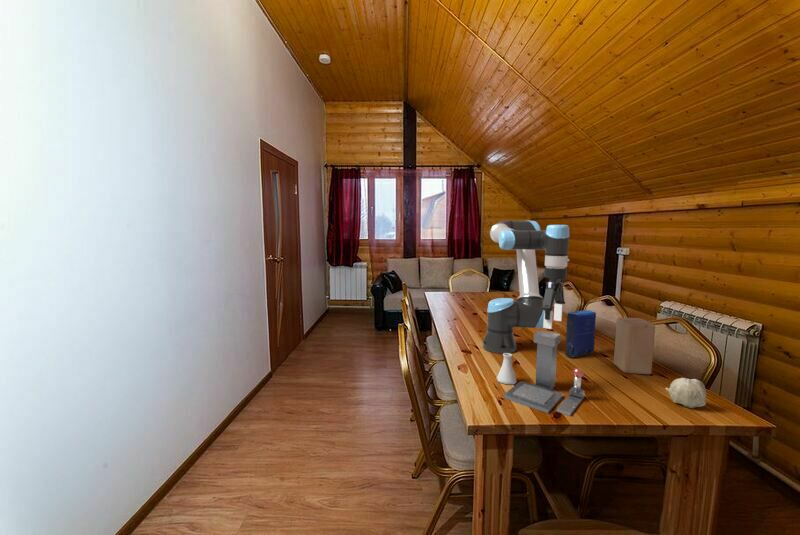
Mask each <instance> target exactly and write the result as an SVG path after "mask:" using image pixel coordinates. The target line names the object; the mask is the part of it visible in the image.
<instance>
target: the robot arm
mask: <svg viewBox="0 0 800 535" xmlns="http://www.w3.org/2000/svg"><path fill="white" fill-rule="evenodd" d="M488 233H489V238H490V239H491V240H492V241H493V242H494V243H498V245H499V248H500V250H508V251H510V250H515V251H516V263H517V274H518V275H517V276H518V289H519V296H518V297H517V298H516V301H515V299H514V298H512V297H511V298H510V297H499V298H494V299H491V300H490V301H489V302H488V305H487V310H486V311H487V318H486V320H487V324H486V325H487V326H486V332H485V335H484V338H483V341H482V348H483V349H484V350H485V351H488V352H491V353H493V354H502V355H503V354H504V353H510V354H512V353H514V352H516V351H517V342H516V340H515V335H514V328H529V329H530V328H531V329H540V328H541V329H542V328H543V329H548V330H552V329H553V321H557V322H562V319H563V305H565V304H566V301H565V293H564V280H566V279H567V278H568V277H567V276H568V269H567V267H568V262H570V258H568V257H569V256H568V255H569V245H570V244H569V242H570V227H569V225H568V224H549V225H547V226H546V228H545V230H541V226H540V224H539V223H538V222H537V221H535V220H528V219H527V220H501V221H497V222H496V223H494V224H493V225H492V226H491V227H490V229H489V232H488ZM537 250H538V251H539V250H540V251H541V250H543V251H545V252H544V266H545V267H544V272H543V274H544V275H543V276H544V278H545V279H549V280H548V281H546V283H545V292H544V296H542V295H541V294H540V288H539V279H538V278H539V277H538V269H537V268H538V267H537V258H536V251H537ZM554 302H555V303H554ZM553 306H554V308H553Z"/></svg>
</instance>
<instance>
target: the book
mask: <svg viewBox="0 0 800 535" xmlns="http://www.w3.org/2000/svg"><path fill="white" fill-rule="evenodd" d="M596 317H597V312H596V311H592V310H587V309H585V310H577V311H569V312H567V316H566V333H565V334H566V336H565V338H566V339H565V349H564V350H565V351H564V355H565V356H567V357H568V358H578V357H584V356H587V355H591V354H593V353H594V352H595V338H596V337H595V335H596V334H595V333H596Z"/></svg>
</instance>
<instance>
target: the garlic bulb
mask: <svg viewBox="0 0 800 535" xmlns="http://www.w3.org/2000/svg"><path fill="white" fill-rule="evenodd" d="M665 390H666V392H669V396H670V399H672V401H673V403H676V404H680V405H682V406H684V407H685V408H688V409H694V408H700V407H703V406H705V405H706V404H707V403H706V399H707V389H706V387H705V384H704V383H703V382H702V381H701V380H698V379H696V378H693V379H692V378H691V379H690V378H686V377H680V378H679V377H678V378H675V379H673V381H672V382H671V383H670V385H669V388H668V387H665Z"/></svg>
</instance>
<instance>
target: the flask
mask: <svg viewBox="0 0 800 535" xmlns="http://www.w3.org/2000/svg"><path fill="white" fill-rule="evenodd" d="M502 356H503V360H502V364H501V367H500V369H499V372H498V374H497V376H496V380H497V382H498V383H500V384H504V385H516V384H517V382H518V381H517V377H516V375H515V370H514V368H513V362H512V357H513V354H512V353H504V354H502Z"/></svg>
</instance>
